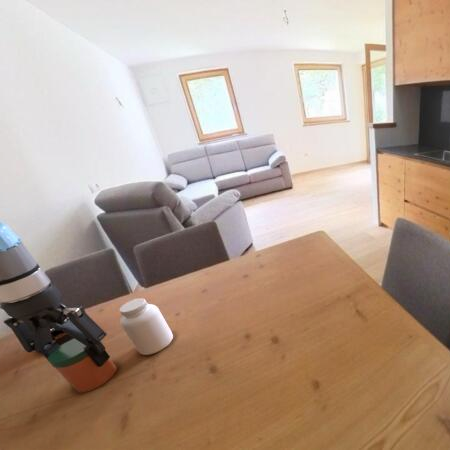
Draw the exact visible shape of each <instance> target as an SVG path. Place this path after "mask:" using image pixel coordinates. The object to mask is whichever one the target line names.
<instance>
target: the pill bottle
mask: <svg viewBox="0 0 450 450" xmlns="http://www.w3.org/2000/svg"><path fill="white" fill-rule="evenodd" d="M119 313H120V314H121V316H122V317H121V318H120V326H121V328H122V329H123V331H124V332H125V334H126V335H127V337H128V339H129V340H130V341H131V343H132V345H133V346H134V347H135V349H136V350H137V352H138V353H139V354H141V355H143V356H148V355H149V356H150V355H153V354H156V353H158V352H160V351H162V350H163V349H165V348H166V347H168V345H170V344H171V342H172V341H173V339H174V334H173V332H172V330H171V328H170V326H169V325H168V323H167V321H166V320H165V317H164V315H163V314H162V313H161V311H160V309H159V307H158V306H157V305H155V304H151V303H148V302H147V300H146V299H145V298H141V297H140V298H139V297H138V298H134V299H131V300H129V301H127V302H125V303H123V305H121V306H120V308H119Z"/></svg>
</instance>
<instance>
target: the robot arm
mask: <svg viewBox="0 0 450 450" xmlns="http://www.w3.org/2000/svg"><path fill="white" fill-rule="evenodd" d="M0 306H1V308H2V309H1V310H3V311H4V312H5V313H6V314H7V315H8V316H9V317H8V318H6V319H5V320H3V323H4V324H5V325H6V326H7V327H8V328H10V329H11V331H12V332H13V334H14V335H15V337H16V339H18V341H19V344H21V346H22V347H23V349H24V351H25V352H26V353H33V352H36V353H37V354H41V353H42V354H41V355H42V356H43V357H44V358H45V359H46V360H47V361H48V357H49V355H50V354H51V353H52V352H53V351H54V350H55V349H56V348H58V347H59V346H60V345H59V344H54V345H53V346H51V345H52V344H53V343H55V342H56V341H53V340H52V336H51V330H50V327H52V328H53V329H55V330H57V331H59V330H61V331H63V332H65V333H64V334H68V335H69V336H71V337H73V338H74V339H76V340H77V341H79V342H81V343H82V344H84V345H85V346H86V347H84V348H83V349H84V350H85V351H86V352H87V354H88V355H89V356H90V357H91V359H92V360H93V361H94V362H95V364H96V365H97V366H98V367H101V366H102V365H103V364H104V363H105V362H106V361H107V360H108V359H109V358H110V359H111V356H110V355H109V353H108V352H107V351H106V347H105V345H104V343H102V340H103V339H105V338H106V336H107V335H108V333H107V332H105V330H104V329H102V327H101V326H99V324H97V322H96V321H94V320H93V318H92V317H90V315H89V314H88V313H87V312H86V310H85V308H84V306H83V305H80V304H79V305H76V306H75V307H67V306H66V305H65V304H63V302H62V293H61V292H60V290H58V288H57V287H56V285H55V284H54V283H52V282H51V280H50V278H49V276H48V275H47V274H46V273H45V271H44V270H43V269H42V268H41V266H40V265H39V264H38V262H37V261H36V259H35V257H34V256H33V254H32V253H31V252H30V251H29V249H28V248H27V247H26V245H25V244H24V243H23V241H22V239H21V238H20V236H19V235H18V234H16V233H15V232H14V231H13V230H12V229H11V227H10V226H9V225H8V224H7V223H5V222H3V221H0ZM65 319H66V321H65V322H64V323H63V324H61V323H62V322H63V321H64V320H65ZM60 324H61V325H60ZM33 342H34V343H33ZM32 343H33V344H32Z"/></svg>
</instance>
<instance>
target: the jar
mask: <svg viewBox="0 0 450 450" xmlns="http://www.w3.org/2000/svg"><path fill="white" fill-rule="evenodd" d="M55 369H56V370H57V371H58V372H59V373H60V375H61V376H62V377H63V378H64V380H66V381H67V383H69V385H70V386H71V387H72V388H73V389H74V390H75V391H76V392H78V393H85V392H88V391H89V392H90V391H92V390H94V389H96V388H99V387H100V386H102V385H103V384H105V383H106V382H107V381H109V380H110V379H111V378H112V377H113V376H114V375H115V373H116V372H117V365H116V364H115V363H114V362H113V361H112V359H111V357H110V358H109V359H108V360H107V361H106V362H105V363H104V364H103V365H102V366H101V367H98V366H97V365H96V364H95V362H94V361H93V360H92V359H91V357H90V356H89V355H88V356H87V357H85V358H84V359H82V360H80V361H78V362H76V363H74V364H72V365H69V366H66V367H61V368H55Z"/></svg>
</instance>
